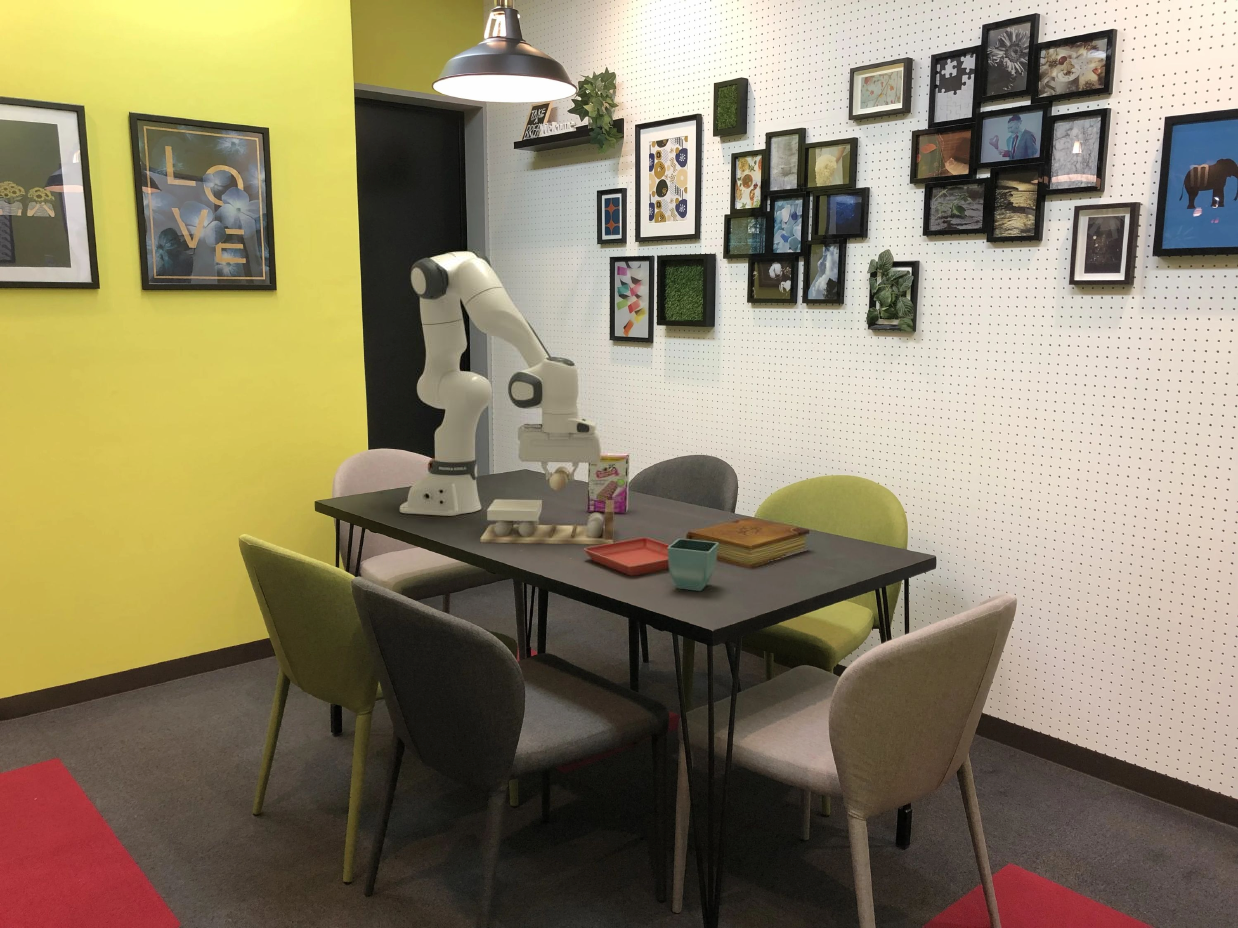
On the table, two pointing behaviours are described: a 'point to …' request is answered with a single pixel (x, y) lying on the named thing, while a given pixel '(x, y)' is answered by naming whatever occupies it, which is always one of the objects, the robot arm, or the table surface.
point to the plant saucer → (632, 555)
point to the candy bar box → (609, 483)
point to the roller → (559, 478)
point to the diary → (751, 540)
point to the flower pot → (692, 563)
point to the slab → (514, 510)
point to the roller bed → (554, 531)
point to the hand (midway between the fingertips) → (560, 479)
